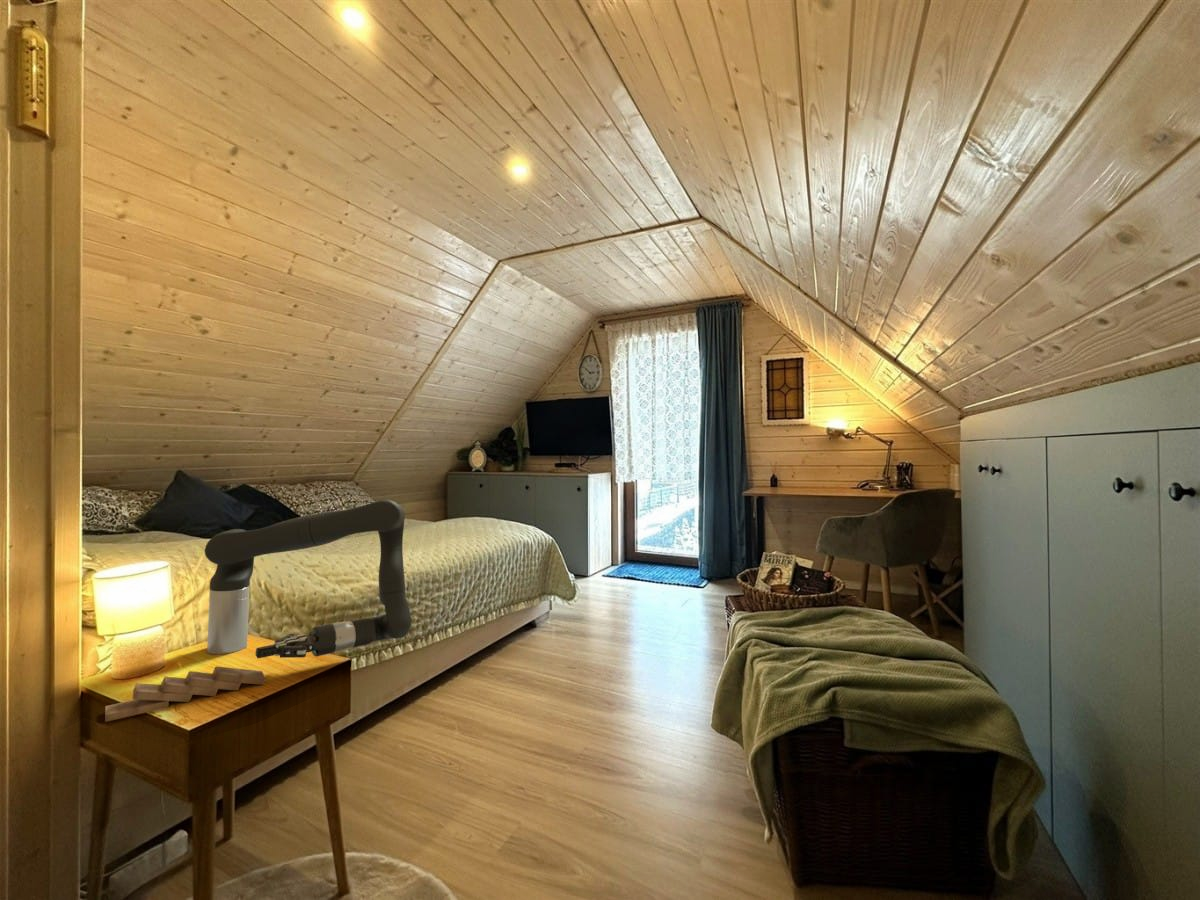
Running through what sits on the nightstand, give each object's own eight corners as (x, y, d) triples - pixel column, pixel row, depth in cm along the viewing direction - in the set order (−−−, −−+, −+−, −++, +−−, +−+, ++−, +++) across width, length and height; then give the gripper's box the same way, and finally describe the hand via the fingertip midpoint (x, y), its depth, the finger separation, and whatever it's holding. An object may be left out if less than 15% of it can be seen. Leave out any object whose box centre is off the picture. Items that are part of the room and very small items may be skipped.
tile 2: (234, 683, 126) (185, 678, 120) (237, 676, 127) (189, 671, 121) (237, 690, 123) (187, 685, 117) (241, 683, 123) (191, 678, 117)
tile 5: (166, 700, 118) (105, 713, 111) (166, 692, 118) (105, 706, 111) (168, 708, 114) (105, 722, 107) (168, 700, 114) (105, 715, 107)
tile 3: (212, 688, 123) (161, 683, 117) (215, 681, 124) (164, 676, 118) (215, 696, 120) (162, 691, 114) (218, 688, 120) (166, 684, 114)
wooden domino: (187, 694, 120) (133, 690, 114) (190, 686, 121) (136, 683, 115) (189, 701, 117) (132, 699, 110) (192, 694, 117) (136, 691, 111)
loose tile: (258, 677, 130) (212, 673, 124) (261, 671, 130) (215, 666, 124) (262, 684, 126) (215, 680, 120) (265, 677, 127) (218, 673, 120)
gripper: (325, 617, 144) (251, 630, 132) (342, 630, 135) (263, 645, 123) (324, 645, 144) (249, 660, 132) (341, 659, 135) (261, 677, 123)
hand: (256, 653), depth 127 cm, fingers closed
